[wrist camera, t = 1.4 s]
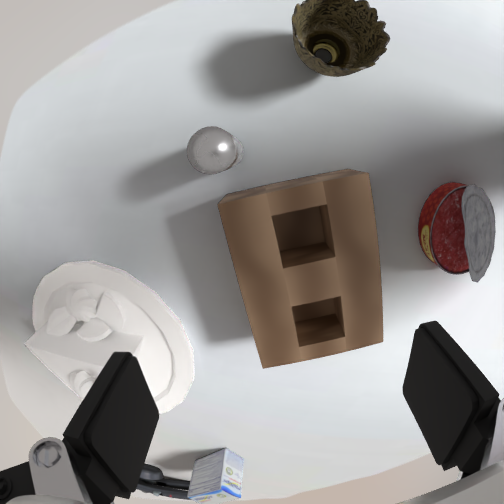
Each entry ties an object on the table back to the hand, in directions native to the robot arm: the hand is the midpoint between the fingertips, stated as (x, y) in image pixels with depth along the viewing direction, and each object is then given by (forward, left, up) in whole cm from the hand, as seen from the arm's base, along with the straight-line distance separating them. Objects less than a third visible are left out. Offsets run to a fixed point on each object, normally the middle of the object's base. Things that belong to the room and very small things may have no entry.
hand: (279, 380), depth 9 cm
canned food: (-21, +4, -22) cm, 31 cm away
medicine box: (+16, +37, -22) cm, 46 cm away
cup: (-9, -16, -22) cm, 28 cm away
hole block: (-3, +4, -22) cm, 22 cm away
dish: (+24, +11, -22) cm, 35 cm away
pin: (+2, -8, -22) cm, 23 cm away
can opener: (+29, +45, -22) cm, 58 cm away
